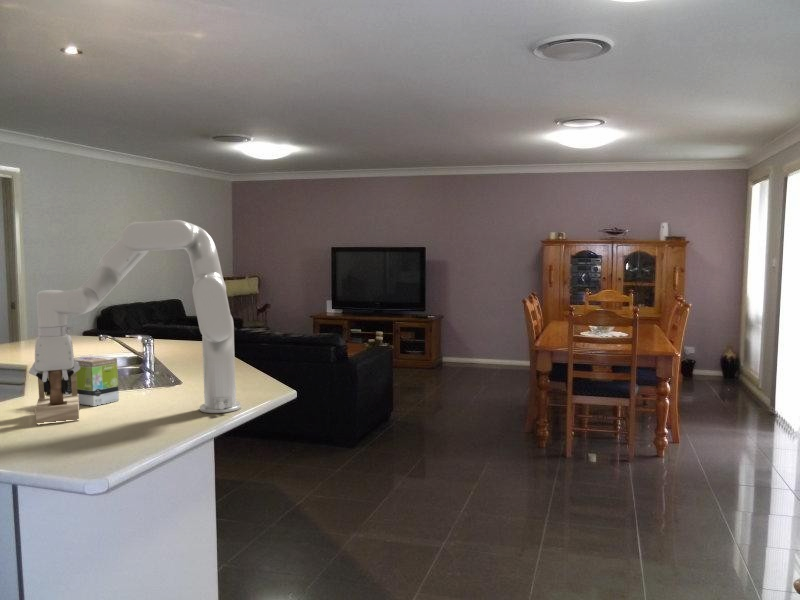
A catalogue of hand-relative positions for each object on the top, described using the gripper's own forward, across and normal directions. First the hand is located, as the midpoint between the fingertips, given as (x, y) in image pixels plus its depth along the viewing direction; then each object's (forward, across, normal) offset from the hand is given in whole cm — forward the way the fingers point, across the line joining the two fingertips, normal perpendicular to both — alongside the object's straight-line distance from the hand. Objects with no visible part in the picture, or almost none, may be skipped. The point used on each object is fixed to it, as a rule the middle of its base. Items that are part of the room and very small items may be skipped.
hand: (56, 393), depth 196 cm
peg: (+3, 0, 0) cm, 3 cm away
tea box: (+8, -10, -22) cm, 25 cm away
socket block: (+8, 0, -4) cm, 9 cm away
